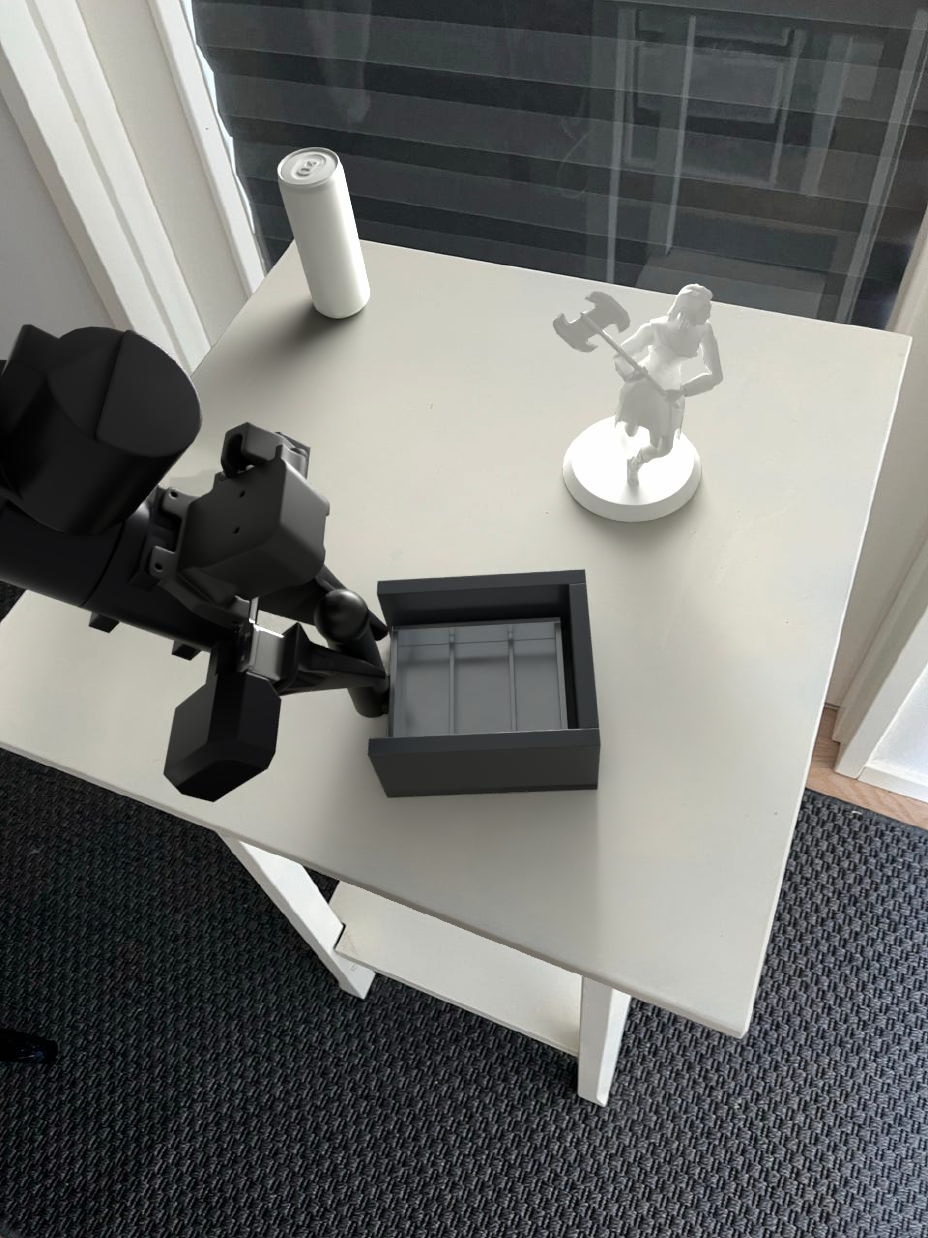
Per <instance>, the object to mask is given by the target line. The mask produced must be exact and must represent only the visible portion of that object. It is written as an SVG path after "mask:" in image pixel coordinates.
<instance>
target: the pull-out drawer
mask: <svg viewBox="0 0 928 1238" xmlns="http://www.w3.org/2000/svg"><path fill="white" fill-rule="evenodd" d="M369 610H370V608H369V607H368V604H367V602H366V601H365V599H364V598H363V597H362V596H361V595H359V594H358V593H357V592H355V591H353V590H350V589H348V590H345V589H338V590H334V591H331V592H329V593H327V594H326V595H324V596H323V597H322V598H321V599H320V600H319V602H318V604H317V606H316V608H315V612H314V622H315V626H314V627H315V628H316V630H317V632H318V634H319V635H320V636H321V637H322V638H323V639H325V641H326V644H327V646H328V648H330V649H333V650H335V651H338V652H341V653H343V654H346V655H349V656H352V657H354V658H357V659H360V660H363V661H365V662H368V663H370V664H372V665H374V666H375V667H377V668H379V669H381V670H383V671H385V672H386V680H384V681H383V682H381V683H380V684H378V685H376V686H367V687H356V688H346V690H347V693H348V695H349V697H350V699H351V702H352V704H353V707H354V709H355V710H356V712H357V714H359V715H360V716H362V717H364V718H367V719H376V718H380V717H383V716H386V715H388V730H387V729H386V734H387V738H388V737H411V736H433V735H456V734H478V733H500V732H523V731H545V730H568V715H567V701H566V686H565V672H564V658H563V643H562V629H561V617H546V618H528V619H509V620H491V621H472V622H454V623H436V624H417V625H399V626H392V641H391V640H390V646H391V663H390V662H389V668H390V675H389V674H388V673H387V670H386V667H385V665H384V662H383V659H382V656H381V652H380V651H379V647H378V644H377V641H375V638H374V635H373V633H372V630H371V627H370V624H369V620H370V614H369Z"/></svg>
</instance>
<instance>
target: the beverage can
mask: <svg viewBox="0 0 928 1238" xmlns="http://www.w3.org/2000/svg"><path fill="white" fill-rule="evenodd" d="M276 172H277V177H278V178H277V182H278V188H279V191H280V194H281V198H282V202H283V205H284V209H285V211H286V215H287V217H288V218H287V219H288V222H289V226H290V228H291V231H292V235H293V238H294V242H295V245H296V249H297V252H298V255H299V258H300V262H301V265H302V270H303V272H304V276H305V280H306V283H307V286H308V287H307V288H308V290H309V293H310V298H311V301H312V304H313V307H314V308H315V310H316V311H317V312H319V313H320V314H321V315H323V316H325V317H327V318H330V319H344V318H348V317H349V318H350V317H351V316H353V315H355V314H357V313H358V312H360V311H361V310H362V309H363V308H364V307H365V306H366V305H367V303H368V301H369V299H370V296H371V295H370V294H371V291H370V290H371V289H370V285H369V281H368V277H367V273H366V268H365V267H366V266H365V262H364V258H363V254H362V249H361V244H360V240H359V235H358V231H357V226H356V221H355V216H354V212H353V208H352V204H351V199H350V195H349V190H348V185H347V181H346V175H345V172H344V168H343V165H342V163H341V161H340V158H339V156H338V155H337V153H336V152H335V151H332V150H331V149H329V148H325V147H316V146H315V147H306V148H301V149H298V150H295V151H293V152H291V153H289V154H288V155H286V156H285V157H284V158H283V159H282V160H281V161H280V162H279V164H278V165H277V169H276Z"/></svg>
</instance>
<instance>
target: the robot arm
mask: <svg viewBox="0 0 928 1238" xmlns="http://www.w3.org/2000/svg"><path fill="white" fill-rule="evenodd" d="M199 395H200V394H199V392H198V389H197V387H196V386H195V383H194V382H193V380H192V379H191V377H190V375H189V373H188V372H187V371H186V370H185V368H184V367H183V366H182V365H181V363H180V362H179V361H178V360H177V359H176V358H175V357H174V356H173V355H171V354H170V353H169V352H168V351H167V350H166V349H165V348H164V347H163V346H161V345H159V344H158V343H156V342H155V341H153V340H152V339H150V338H149V337H147V336H145V335H143V334H140V333H139V332H137V331H135V330H132V329H125V331H124V330H119V329H115V328H112V327H107V326H85V327H79V328H74V329H73V330H70V331H69V332H66V333H64V334H62V335H61V336H60V337H57V336H55V335H54V334H51V333H50V332H48V331H45V330H43V329H42V328H40V327H37V326H35V325H34V324H32V323H27V324H26V323H25V324H22V326H21V327H20V329H19V331H18V333H17V335H16V336H15V339H14V341H13V343H12V347H11V349H10V351H9V354H8V356H7V359H0V581H1V582H4V583H7V584H10V585H13V586H16V587H18V588H20V589H24V590H26V591H30V592H33V593H36V594H38V595H40V596H41V595H42V596H45V597H46V598H50V599H53V600H56V601H59V602H62V603H64V604H67V605H70V606H73V607H76V608H78V609H82V610H85V611H87V612H90V613H91V614H90V617H89V622H88V625H87V626H88V627H89V628H92V629H95V630H98V631H101V632H104V633H106V634H111V632H112V631H114V629H115V628H116V627H117V626H118V625H119V624H120V623H122V624H124V625H128V626H130V627H133V628H136V629H139V630H141V631H142V630H143V631H145V632H148V633H150V634H153V635H157V636H160V637H162V638H165V639H167V640H171V641H173V645H172V649H171V654H170V655H172V656H175V657H177V658H181V659H183V660H187V661H189V662H191V661H192V660H194V659H195V657H197V656H198V655H199V654H200V653H201V652H206V653H208V654H209V657H208V658H209V659H208V665H207V671H206V678H205V683H204V684H203V685H201V686H200V687H199V688H198V689H196V691H194V692H193V693H192V694H190V695H189V696H188V697H187V698H186V699H184V700H183V701H182V702H180V703H179V704H178V705H177V706H176V707H175V708H174V711H173V717H172V718H173V719H172V724H171V728H170V734H169V739H168V746H167V752H166V755H165V756H166V757H165V763H164V765H163V766H164V767H163V772H162V776H164V778H165V779H166V780H168V781H169V783H170V784H171V785H172V786H173V787H174V788H175V789H176V790H177V792H179V794H180V795H183V796H187V797H191V798H194V799H197V800H198V799H199V800H202V801H206V802H209V803H215V802H217V801H218V800H220V799H222V798H223V797H224V796H226V795H227V794H230V793H231V792H234V790H236V789H238V788H240V787H241V786H243V785H244V784H246V783H247V782H248V781H250V780H253V778H255V777H257V776H259V775H260V774H261V773H263V772H265V771H267V770H268V769H269V767H270V765H271V763H272V761H273V759H274V757H275V755H276V752H277V742H278V734H279V725H280V718H281V709H282V698H281V697H285V696H289V695H295V694H302V693H311V692H321V691H322V692H323V691H333V690H343V689H347V688H356V687H367V686H376V685H378V684H380V683H381V682H383V681H384V680H386V673H387V671H386V672H385V671H383V670H381V669H379V668H377V667H375V666H374V665H372V664H370V663H368V662H365V661H363V660H360V659H357V658H354V657H352V656H349V655H346V654H343V653H341V652H338V651H335V650H333V649H330V648H329V647H326V646H324V645H321V644H319V643H316V642H313V641H312V640H311V639H310V638H309V636H308V634H307V632H306V630H305V629H304V627H303V625H302V624H306V625H309V626H312V627H316V626H315V622H314V612H315V608H316V606H317V604H318V602H319V600H320V599H321V598H322V597H323V596H324V595H326V594H327V593H329V592H331V591H334V590H338V589H345V590H349V589H348V587H346V586H345V585H344V583H342V582H341V581H340V580H339V579H338V578H337V576H335V574H334V573H333V572H332V571H331V570H330V569H329V568H328V567H327V565H326V564H325V560H326V552H327V551H326V550H327V549H326V547H325V544H324V542H325V532H326V522H327V517H329V516H330V513H331V503H330V501H329V499H328V498H327V497H326V496H325V495H324V494H323V493H322V492H321V491H320V490H318V489H317V488H316V486H314V485H313V484H312V483H311V482H309V481H308V474H309V473H308V472H309V464H310V455H311V446H309V445H308V444H305V443H304V442H301V441H300V440H297V439H295V438H294V437H291V436H289V435H288V434H285V433H283V432H281V431H271V430H268V429H266V428H264V427H261V426H259V425H256V424H254V423H251V422H250V421H245V422H243V423H241V424H239V425H237V426H235V427H233V428H230V429H228V430H227V431H226V432H224V433H225V434H224V438H223V444H222V449H221V453H220V454H221V455H220V465H221V468H222V470H221V471H218V472H217V473H214V478H213V483H212V488H211V489H210V491H208V492H207V493H204V494H202V495H199V494H193V493H188V492H185V491H183V490H181V489H179V488H176V487H174V486H173V487H172V486H170V487H164V486H162V485H160V483H161V481H163V479H164V478H165V477H166V475H167V474H168V473H170V471H171V469H172V468H173V467H174V466H175V464H176V463H177V462H178V461H179V460H180V459H181V457H182V456H183V455H184V454H185V452H186V451H187V450H188V449H189V448H190V447H191V445H192V444H193V443H194V442H195V441H196V438H197V436H198V435H199V433H200V432H201V429H202V425H203V419H204V418H203V405H202V401H201V397H200V396H199ZM260 611H261V612H264V613H268V614H271V615H274V616H278V617H281V618H285V619H288V620H291V621H294V622H295V623H293V624H292V625H291V626H290V627H288V628H287V629H286V630H285V631H283V632H282V633H281V634H280V633H278V632H274V631H272V630H270V629H266V628H264V627H261V626H260V625H259V623H258V618H259V612H260ZM369 614H370V620H369V624H370V627H371V630H372V633H373V635H374V638H375V641H376V642H380V641H382V640H383V639H385V638H386V637H388V635H389V632H388V627H387V626H386V623H385V622H383V621H382V620H381V619H380V618H379V617H377V616H376V615H375V614H374V612H372V610H370V609H369ZM301 623H302V624H301Z"/></svg>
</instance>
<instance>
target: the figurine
mask: <svg viewBox="0 0 928 1238" xmlns="http://www.w3.org/2000/svg"><path fill="white" fill-rule="evenodd" d="M713 296H714V294H713V292H712V291H711V290H710V289H707V288H706V287H705V286H702V285H699V284H698V283H697V282H695V284H688V285H685V286H684V287H682V288H681V290H680V291H679V293H678V294H677V296H676V298H675V300H674V301H673V304H672V305H671V306H670V308H669V309H668V312H667V313H666V315H668V316H665V315H664V316H661V317H659V318H654V319H650V322H649V323H644V324H642V325H641V326H639V328H638V330H636V332H635V333H634V335H632V336H631V337H629V338H628V339H626V340H625V341H623V342H622V343H621V344H618V343H617V341H615V340H614V339H613V338H612V337H611V336H610V335H609V334H608V333H607V332H605V329H606V328H608V327H609V326H610V325H615V327H616V330H617V332H618V333H619V334H620V333H622V332H624V331H626V330H627V329H629V328H630V325H631V319H630V316H629V313H628V312H627V310H626V308H624V307H623V306H622V305H621V304H620V303H619V302H618V301H617V300H616V299H615V298H614V297H613V296H612V295H610V294H608V293H606V292H603V291H597V290H596V291H591V292H590V293H588V294H587V295H586V296H584V298H583V299H584V300H586V301H588V302H590V303H593V304H594V306H593V307H592V308H590V309H588V310H587V311H583V312H582V311H579V314H580V315H579V316H578V317H577V318H575V319H573V321H568V320H567V317H566V315H565V313H564V312H561V313H560V314H558V315H556V317H554V318H553V320H552V327H553V329H554V331H555V334H556V335H557V336H558V337H560V339H562V340H563V341H564V342H565V343H566V344H567V345H568V346H569V347H570V348H572V349H573V350H575V351H578V352H581V353H588V354H589V353H592V352H594V351H595V350H596V349H597V348H598V347H599V345H597V344H594V343H592V342H591V341H589V339H590V338H592V337H594V336H596V335H598V336H599V337H601V338H602V339H603V340H604V341H605V342H606V343H607V344H608V345H609V346H610V347H611V348H612V349H613V350H614V351H615V352H614V353H613V356H612V361H613V367H614V369H615V371H616V373H617V374H618V375H619V376H620V378H621V379H622V381H623V382H624V383H623V384H622V386H621V387H620V390H619V392H618V401H617V405H616V408H615V412H614V416H610V417H607V418H604V419H602V420H599V421H597V422H595V423H594V424H593V425H591V426H589V427H588V428H586V430H584V431H583V432H582V433H581V434H580V435H579V436H578V437H576V439H574V440H573V441H572V443H571V444H570V446H569V447H568V449H567V450H566V453H565V456H564V458H563V464H562V476H563V481H564V483H565V485H566V489H567V490H568V492H569V494H570V495H571V496H572V497H573V498H574V500H576V501H577V503H579V505H581V506H582V507H583V508H585V509H586V510H588V511H589V512H591V513H593V514H595V515H598V516H600V517H603V518H604V519H608V520H613V521H617V522H626V523H638V522H640V523H641V522H648V521H653V520H656V519H661V518H663V517H667V516H668V515H670V514H672V513H674V512H676V511H677V510H679V509H680V508H682V507H684V506H685V505H686V504H687V503H688V502H689V500H691V499H692V497H693V496H694V495H695V493H696V491H697V490H698V488H699V485H700V482H701V478H702V463H701V458H700V456H699V454H698V453H699V452H698V451H697V450H696V447H695V446H694V445H693V444H692V442H691V441H690V440H689V439H688V438H687V436H686V435H685V434H684V433H683V432H682V428H683V423H684V422H683V421H684V416H685V411H686V410H685V409H686V398H691V397H693V396H698V395H700V394H704V393H707V392H710V391H712V390H713V389H714V388H715V387H716V386H718V385H720V384H721V383H722V382H723V380H724V372H723V369H722V364H721V355H720V351H719V344H718V340H717V338H716V336H715V334H714V329H713V325H712V323H711V322H710V321H709V320H708V319H710V318H711V311H712V306H713V303H712V301H711V300H712V299H713ZM699 347H700V349H701V352H702V358H701V359H702V363H703V364H704V366H705V368H706V370H707V372H708V373H706V372H703V373H701V374H699V375H697V376H696V377H694V378H692V379H689V381H687V382H684V383H683V384H682V383H681V380H682V379H681V378H682V375H681V366H682V365H683V364H685V363H686V362H688V361H692V360H693V359H694V358H696V357H698V355H699V352H698V351H699ZM646 348H647V351H648V356H646V357H645V358H644V359H643V360H640V361H639V362H637V361H636V360H635V359H636V357H638V356H639V354H640V353H641V352H642V351H643V350H644V349H646Z"/></svg>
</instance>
